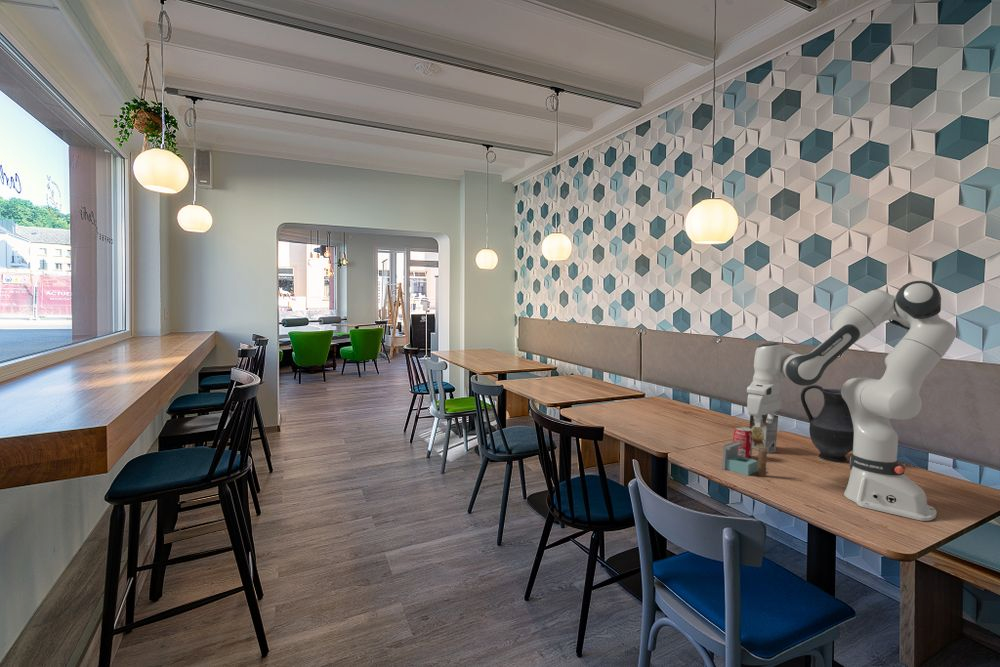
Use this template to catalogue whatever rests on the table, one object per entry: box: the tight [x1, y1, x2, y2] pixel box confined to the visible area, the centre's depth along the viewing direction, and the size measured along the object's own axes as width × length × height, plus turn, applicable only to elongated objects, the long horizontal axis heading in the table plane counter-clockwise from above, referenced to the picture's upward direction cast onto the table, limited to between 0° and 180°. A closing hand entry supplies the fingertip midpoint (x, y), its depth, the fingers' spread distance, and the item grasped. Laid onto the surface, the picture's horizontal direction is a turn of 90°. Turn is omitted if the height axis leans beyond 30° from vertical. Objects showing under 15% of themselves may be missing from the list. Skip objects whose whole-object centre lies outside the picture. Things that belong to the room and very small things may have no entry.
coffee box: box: [749, 414, 779, 454], centre depth 203 cm, size 9×6×16 cm
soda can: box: [732, 426, 753, 459], centre depth 192 cm, size 7×7×12 cm
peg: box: [756, 448, 768, 478], centre depth 171 cm, size 3×3×10 cm
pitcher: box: [800, 384, 854, 463], centre depth 193 cm, size 17×21×30 cm
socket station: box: [721, 441, 758, 476], centre depth 177 cm, size 9×10×9 cm
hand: (763, 425), depth 170 cm, fingers open, 8 cm apart
